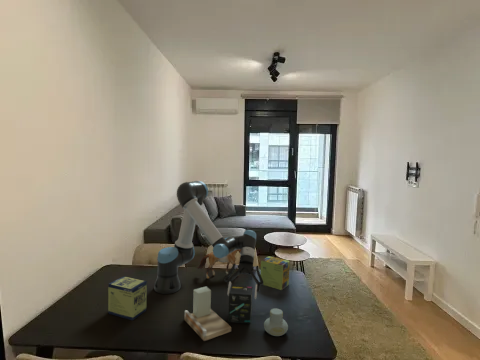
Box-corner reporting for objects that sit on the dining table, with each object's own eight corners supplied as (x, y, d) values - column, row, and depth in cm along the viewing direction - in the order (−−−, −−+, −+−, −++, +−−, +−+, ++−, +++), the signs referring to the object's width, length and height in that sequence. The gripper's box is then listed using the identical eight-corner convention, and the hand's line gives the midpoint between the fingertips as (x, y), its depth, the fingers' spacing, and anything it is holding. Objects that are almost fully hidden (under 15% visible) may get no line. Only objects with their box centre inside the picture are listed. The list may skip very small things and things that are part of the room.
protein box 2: (282, 290, 181) (283, 265, 180) (259, 284, 189) (260, 260, 188) (289, 284, 190) (290, 260, 189) (267, 278, 198) (268, 255, 197)
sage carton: (193, 313, 148) (193, 289, 147) (205, 309, 152) (206, 286, 151) (197, 317, 144) (198, 293, 143) (210, 313, 148) (211, 290, 147)
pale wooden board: (184, 319, 146) (184, 310, 146) (209, 311, 154) (210, 303, 154) (203, 341, 130) (203, 331, 129) (231, 331, 138) (231, 321, 137)
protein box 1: (133, 320, 144) (133, 289, 142) (107, 313, 149) (107, 283, 148) (147, 310, 153) (147, 281, 152) (122, 304, 159) (122, 275, 158)
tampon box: (251, 314, 153) (252, 286, 152) (250, 324, 144) (251, 294, 143) (230, 312, 154) (231, 284, 153) (227, 322, 145) (228, 292, 144)
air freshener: (285, 327, 142) (286, 307, 142) (289, 337, 134) (290, 316, 133) (262, 327, 142) (263, 306, 141) (264, 337, 134) (265, 316, 133)
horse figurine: (242, 272, 207) (243, 243, 205) (244, 277, 199) (245, 246, 198) (196, 275, 200) (197, 244, 199) (197, 280, 193) (198, 248, 191)
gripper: (223, 252, 162) (216, 291, 149) (270, 255, 158) (266, 296, 144) (225, 258, 168) (218, 296, 154) (270, 262, 164) (267, 301, 150)
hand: (241, 296), depth 149 cm, fingers open, 13 cm apart
